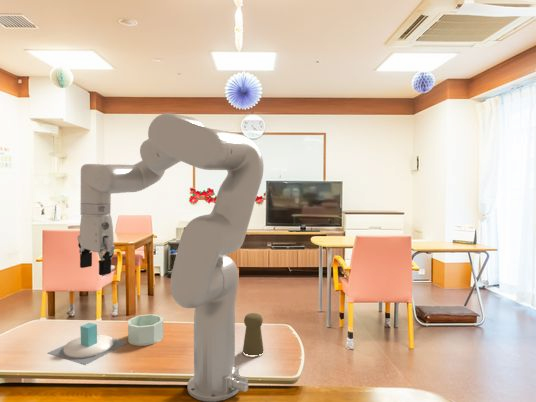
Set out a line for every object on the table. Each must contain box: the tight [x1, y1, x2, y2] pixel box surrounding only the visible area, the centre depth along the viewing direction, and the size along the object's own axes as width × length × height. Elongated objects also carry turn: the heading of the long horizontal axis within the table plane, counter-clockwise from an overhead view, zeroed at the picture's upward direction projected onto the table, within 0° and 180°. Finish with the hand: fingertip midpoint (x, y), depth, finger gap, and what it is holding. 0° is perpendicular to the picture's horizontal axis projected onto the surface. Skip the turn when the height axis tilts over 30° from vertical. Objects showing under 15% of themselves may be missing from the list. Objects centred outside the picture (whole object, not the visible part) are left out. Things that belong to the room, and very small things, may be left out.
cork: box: [242, 312, 265, 355], centre depth 110 cm, size 6×6×11 cm
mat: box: [47, 333, 130, 366], centre depth 112 cm, size 15×15×1 cm
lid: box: [63, 322, 114, 358], centre depth 112 cm, size 13×13×6 cm
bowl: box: [127, 313, 165, 347], centre depth 118 cm, size 10×10×6 cm
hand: (95, 270), depth 109 cm, fingers open, 9 cm apart
